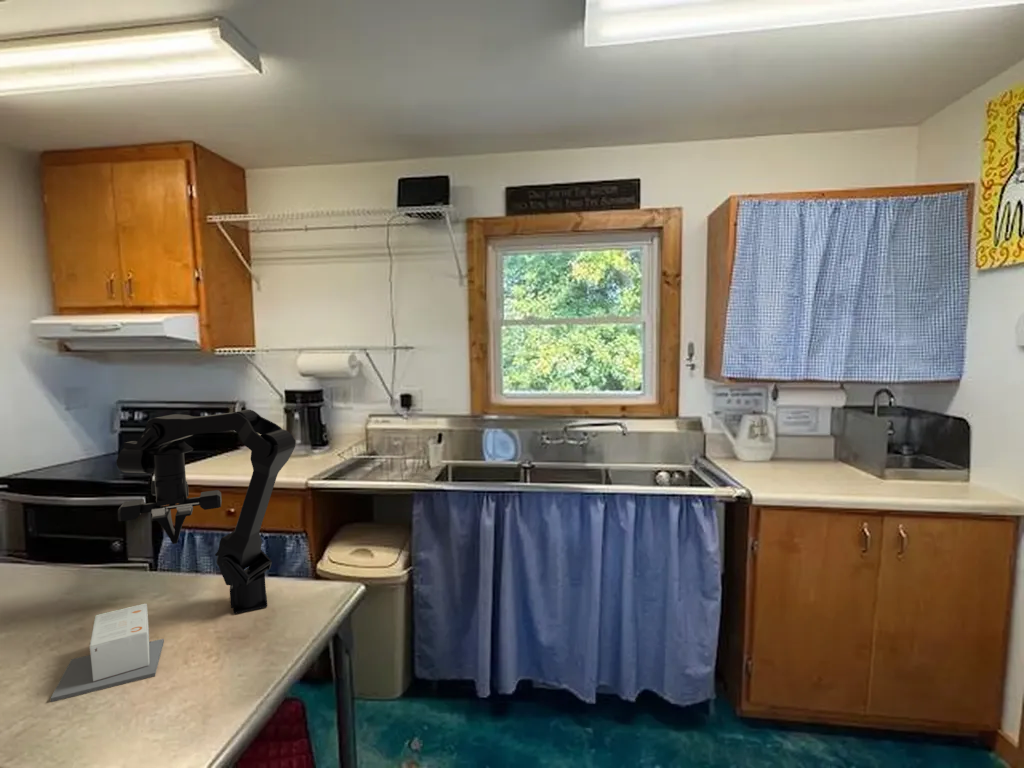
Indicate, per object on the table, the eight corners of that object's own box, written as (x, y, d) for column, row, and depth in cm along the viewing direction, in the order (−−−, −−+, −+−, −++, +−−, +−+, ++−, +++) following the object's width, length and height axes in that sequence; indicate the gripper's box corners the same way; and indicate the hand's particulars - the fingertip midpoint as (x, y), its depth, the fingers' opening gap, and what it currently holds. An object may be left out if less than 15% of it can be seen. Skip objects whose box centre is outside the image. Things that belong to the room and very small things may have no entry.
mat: (163, 641, 103) (163, 638, 103) (154, 676, 93) (154, 672, 92) (71, 662, 97) (71, 659, 97) (50, 701, 86) (50, 698, 86)
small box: (97, 647, 101) (91, 683, 90) (94, 614, 100) (88, 646, 89) (149, 633, 105) (150, 666, 94) (147, 602, 105) (147, 631, 94)
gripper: (220, 460, 129) (224, 524, 130) (124, 470, 120) (130, 539, 122) (218, 470, 119) (222, 540, 120) (114, 482, 110) (120, 556, 112)
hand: (175, 543), depth 119 cm, fingers closed
